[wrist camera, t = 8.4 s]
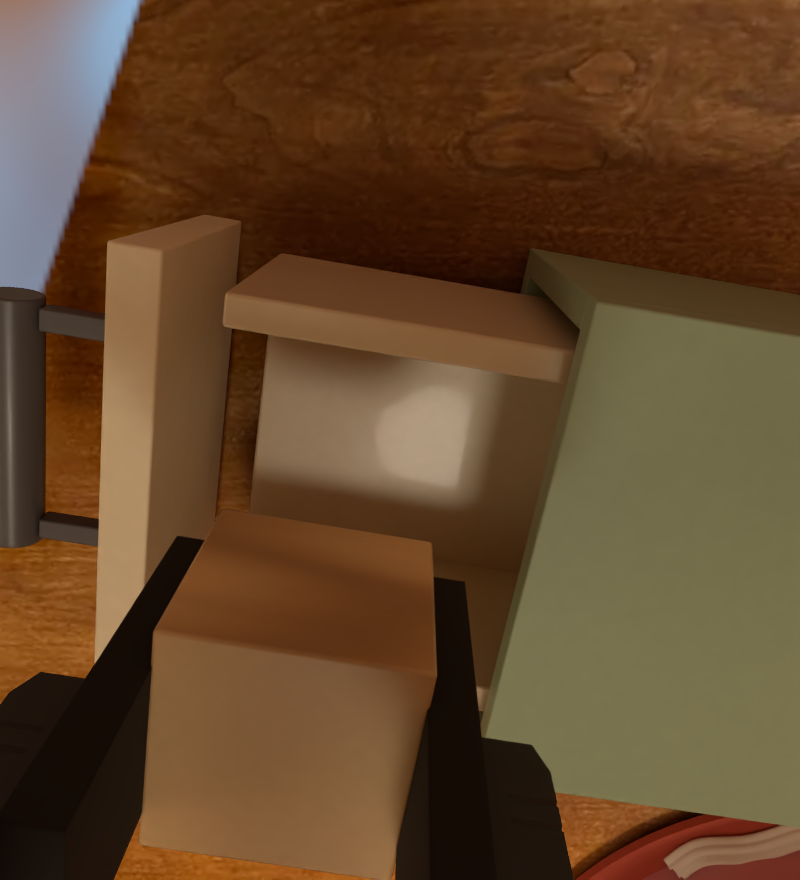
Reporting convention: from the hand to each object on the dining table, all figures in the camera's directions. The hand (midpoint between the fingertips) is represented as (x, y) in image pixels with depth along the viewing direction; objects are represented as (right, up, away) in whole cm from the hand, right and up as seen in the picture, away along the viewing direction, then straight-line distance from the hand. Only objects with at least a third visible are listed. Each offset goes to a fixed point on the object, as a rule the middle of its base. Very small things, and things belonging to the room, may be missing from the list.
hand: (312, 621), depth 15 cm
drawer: (0, +4, +11) cm, 12 cm away
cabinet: (+12, +3, +12) cm, 18 cm away
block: (0, 0, 0) cm, 0 cm away
